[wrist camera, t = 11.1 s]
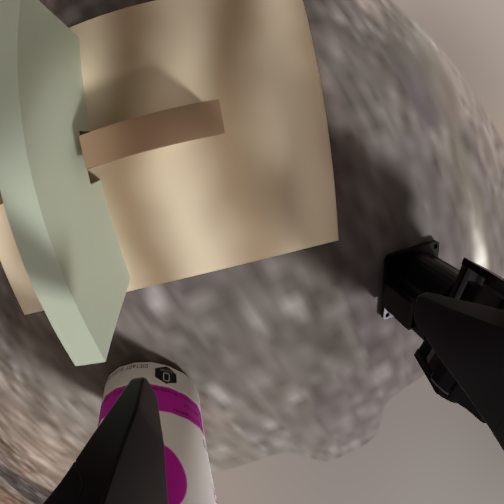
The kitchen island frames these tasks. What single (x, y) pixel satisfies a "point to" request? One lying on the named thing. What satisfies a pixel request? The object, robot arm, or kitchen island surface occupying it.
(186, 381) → the supplement can
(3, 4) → the sage slotted plate
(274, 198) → the birch board
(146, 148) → the walnut slotted plate
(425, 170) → the kitchen island surface
